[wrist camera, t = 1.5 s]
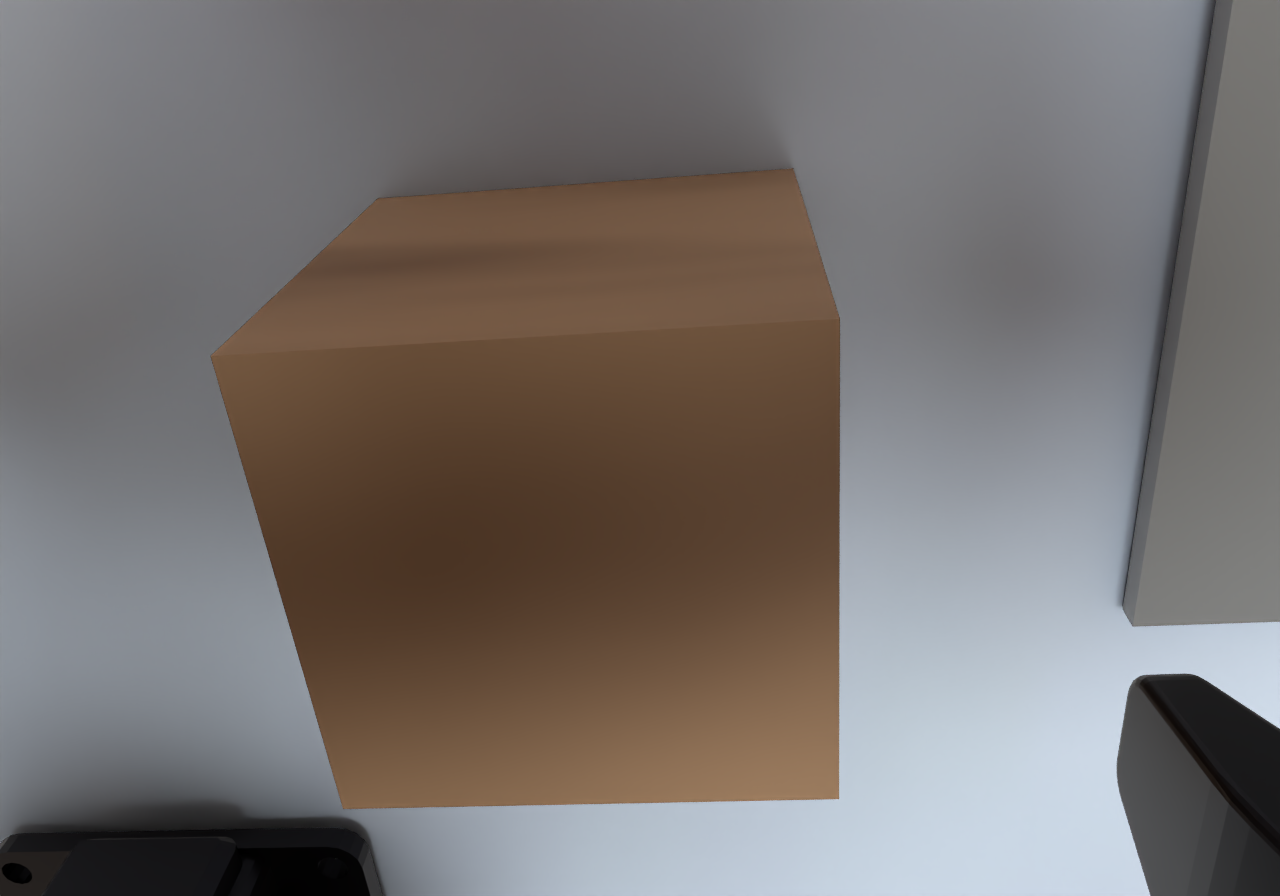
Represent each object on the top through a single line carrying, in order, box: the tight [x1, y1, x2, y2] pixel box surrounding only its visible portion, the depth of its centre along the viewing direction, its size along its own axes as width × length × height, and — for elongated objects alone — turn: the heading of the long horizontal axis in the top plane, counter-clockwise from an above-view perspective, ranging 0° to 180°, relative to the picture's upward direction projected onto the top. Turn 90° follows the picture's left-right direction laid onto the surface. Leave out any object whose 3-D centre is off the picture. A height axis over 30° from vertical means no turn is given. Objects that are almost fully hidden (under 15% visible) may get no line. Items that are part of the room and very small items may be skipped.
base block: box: [211, 168, 840, 809], centre depth 12 cm, size 5×5×5 cm
